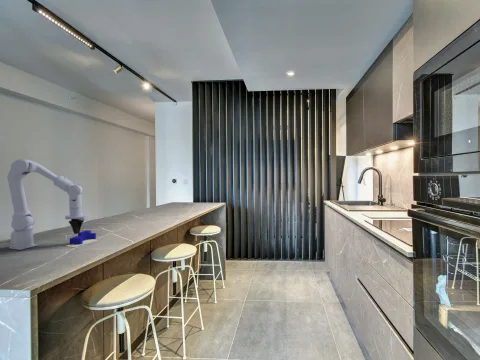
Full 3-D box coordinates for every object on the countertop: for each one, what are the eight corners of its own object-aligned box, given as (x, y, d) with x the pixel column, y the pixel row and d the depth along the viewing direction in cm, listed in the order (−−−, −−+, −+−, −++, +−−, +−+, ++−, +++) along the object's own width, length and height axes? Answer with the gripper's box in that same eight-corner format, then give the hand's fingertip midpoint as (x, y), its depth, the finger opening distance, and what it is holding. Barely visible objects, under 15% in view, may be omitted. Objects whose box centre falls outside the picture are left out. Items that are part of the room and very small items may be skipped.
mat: (65, 246, 130) (65, 245, 130) (90, 239, 142) (90, 238, 142) (73, 247, 127) (73, 246, 127) (98, 240, 140) (98, 239, 140)
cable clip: (85, 230, 144) (95, 230, 143) (86, 238, 144) (96, 238, 143) (69, 235, 132) (80, 235, 131) (69, 244, 132) (80, 244, 132)
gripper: (92, 207, 137) (93, 232, 137) (73, 206, 142) (74, 230, 143) (79, 209, 130) (80, 235, 131) (60, 208, 136) (61, 233, 136)
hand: (76, 233), depth 136 cm, fingers closed
